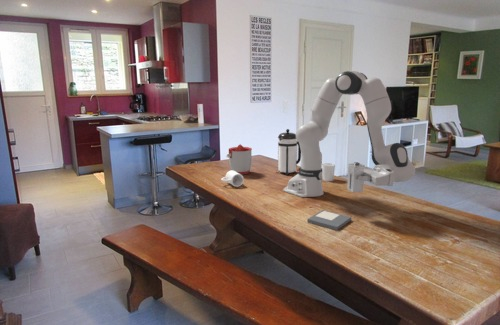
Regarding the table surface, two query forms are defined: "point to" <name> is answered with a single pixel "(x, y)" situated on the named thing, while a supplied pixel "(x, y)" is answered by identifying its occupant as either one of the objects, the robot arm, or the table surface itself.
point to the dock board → (329, 220)
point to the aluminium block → (355, 177)
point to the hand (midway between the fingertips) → (354, 176)
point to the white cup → (328, 171)
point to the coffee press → (288, 152)
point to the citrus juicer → (240, 159)
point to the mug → (233, 178)
